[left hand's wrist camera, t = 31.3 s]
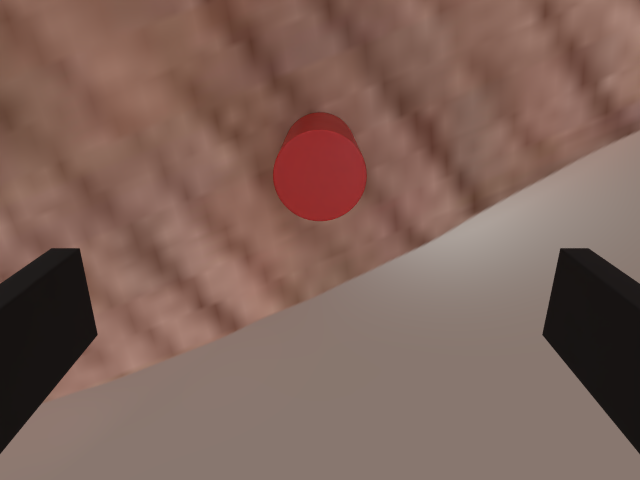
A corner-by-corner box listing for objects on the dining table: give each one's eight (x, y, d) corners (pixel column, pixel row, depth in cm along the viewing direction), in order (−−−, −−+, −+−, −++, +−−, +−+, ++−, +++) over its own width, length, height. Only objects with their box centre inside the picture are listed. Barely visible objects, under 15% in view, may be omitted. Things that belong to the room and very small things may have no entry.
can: (369, 153, 35) (385, 183, 26) (314, 196, 36) (313, 238, 27) (325, 97, 33) (327, 108, 25) (270, 143, 34) (253, 170, 26)
